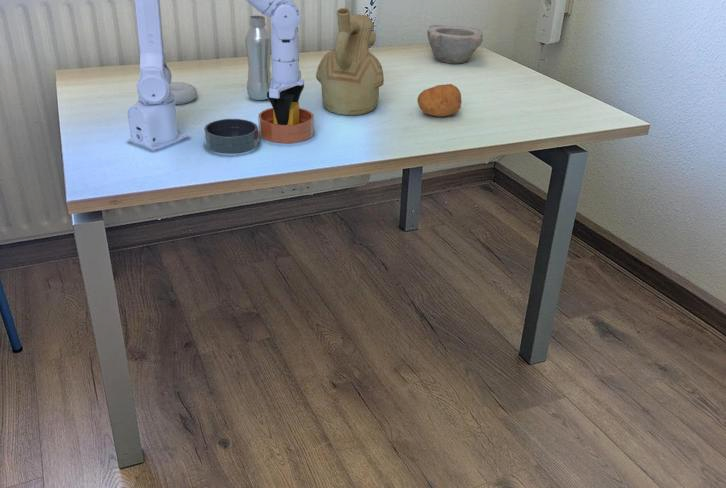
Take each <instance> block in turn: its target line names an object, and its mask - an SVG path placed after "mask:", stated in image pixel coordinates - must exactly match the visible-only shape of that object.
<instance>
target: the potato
mask: <svg viewBox="0 0 726 488" xmlns="http://www.w3.org/2000/svg"><path fill="white" fill-rule="evenodd" d="M416 101H417V105H418V107H419V109H420V110H421V111H422V112H423V113H425V114H426V115H429V116H432V117H440V118H443V117H448V116H451V115H454V114H456V113H457V112H458V111H459V110H460V109H461V107H462V94H461V91H460V89H459V88H458V87H457V86H456V85H454V84H452V83H447V84H437V85H435V86H432V87H429V88H426V89H424V90H423V91H421V92H420V93H419V94H418V96H417V100H416Z"/></svg>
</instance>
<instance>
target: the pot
mask: <svg viewBox="0 0 726 488" xmlns="http://www.w3.org/2000/svg"><path fill="white" fill-rule="evenodd" d="M203 132H204V144H205V147H206V148H207V149H208V150H210V151H211V152H214V153H217V154H224V155H236V154H242V153H247V152H251V151H253V150H254V149H256V148H257V147H258V146H259V126H258V124H256V123H255V122H253V121H250V120H247V119H243V118H222V119H216V120H214V121H211V122H208V123H207V124H206V125H204V128H203Z"/></svg>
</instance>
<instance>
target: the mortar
mask: <svg viewBox="0 0 726 488" xmlns="http://www.w3.org/2000/svg"><path fill="white" fill-rule="evenodd" d="M427 39H428V43H429V46H430V49H431V51H432V53H433V55H434V57H435V59H436V60H437V61H439V62H441V63H446V64H452V65H455V64H457V65H458V64H463V63H465V62H467V61H468V60H469V59H470V58H471V57H472V56H473V54H474V53H475V52H476V51H477V49H478V48H479V47H480V46H481V45H482V43H483V41H484V40H483V39H484V38H483V32H482V31H481V30H480V29H479V28H477V27H466V26H460V25H441V24H432V25H429V26H428V28H427Z"/></svg>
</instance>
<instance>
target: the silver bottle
mask: <svg viewBox="0 0 726 488" xmlns="http://www.w3.org/2000/svg"><path fill="white" fill-rule="evenodd" d="M266 25H267V22H266V17H265V15H251V16H249V26H250V28H248V29H249V30H248V31H247V33H246V35H245V37H244V44H245V49H246V55H247V65H248V68H247V81H246V92H247V95H248V97H249V98H250V99H252V100H256V101H263V100H269V99H268V98H267V92H269V88H270V87H271V78H272V72H271V34H270V33H269V31H268V30H267V28H266Z"/></svg>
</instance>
